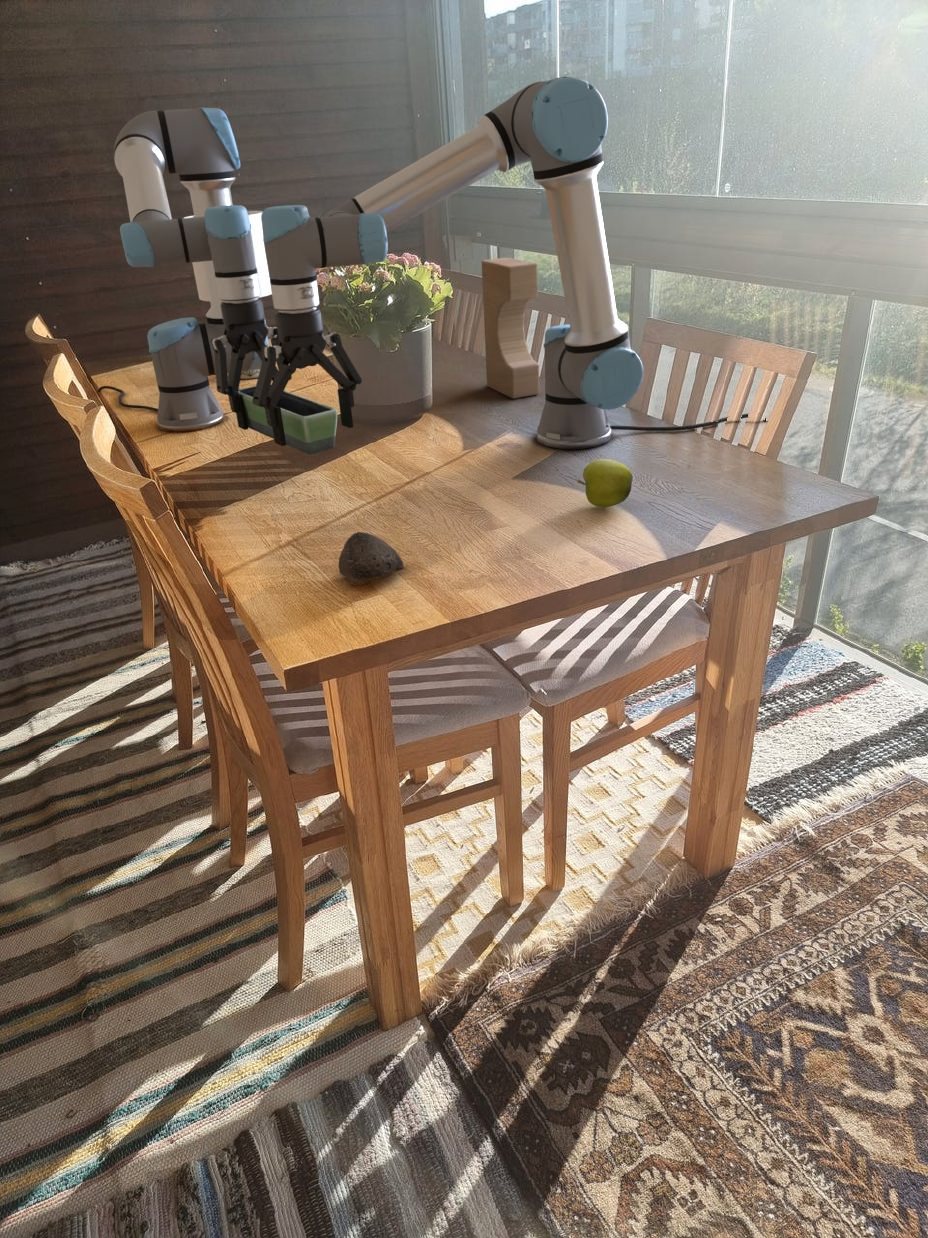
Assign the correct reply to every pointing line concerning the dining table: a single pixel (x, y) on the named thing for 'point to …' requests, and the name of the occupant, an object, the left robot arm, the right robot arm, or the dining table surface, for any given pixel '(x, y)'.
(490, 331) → the decorative block
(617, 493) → the apple
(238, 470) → the dining table surface
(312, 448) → the planter
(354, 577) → the stone
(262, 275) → the lamp
